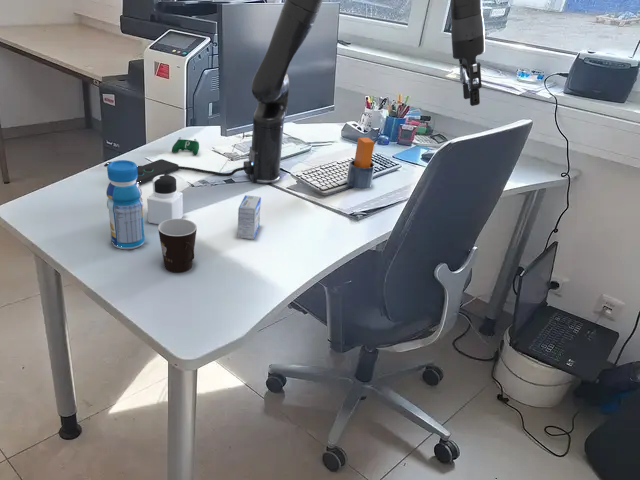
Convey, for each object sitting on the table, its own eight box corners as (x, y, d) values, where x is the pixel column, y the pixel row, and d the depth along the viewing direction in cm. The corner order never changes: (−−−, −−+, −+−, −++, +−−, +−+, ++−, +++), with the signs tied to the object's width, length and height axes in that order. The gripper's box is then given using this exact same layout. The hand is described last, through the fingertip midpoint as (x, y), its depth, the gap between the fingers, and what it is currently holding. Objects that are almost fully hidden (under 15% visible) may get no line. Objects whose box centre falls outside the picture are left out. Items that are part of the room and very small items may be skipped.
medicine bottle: (183, 216, 151) (182, 174, 144) (172, 227, 145) (171, 184, 139) (159, 212, 153) (157, 170, 146) (147, 222, 147) (145, 179, 140)
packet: (357, 186, 172) (364, 142, 165) (351, 181, 176) (358, 137, 168) (366, 186, 173) (374, 142, 165) (360, 180, 177) (367, 137, 169)
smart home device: (115, 174, 169) (160, 158, 183) (115, 180, 170) (161, 163, 184) (134, 182, 165) (179, 164, 179) (134, 187, 166) (179, 169, 180)
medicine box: (254, 240, 141) (256, 208, 137) (237, 237, 142) (238, 206, 137) (259, 226, 148) (261, 196, 143) (243, 224, 148) (244, 194, 144)
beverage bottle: (129, 254, 133) (123, 174, 122) (103, 244, 136) (95, 165, 125) (152, 240, 139) (148, 163, 128) (126, 231, 142) (120, 155, 131)
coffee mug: (160, 256, 132) (158, 218, 127) (196, 256, 133) (196, 218, 128) (158, 282, 123) (156, 242, 117) (197, 282, 124) (197, 242, 118)
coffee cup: (352, 190, 171) (356, 169, 167) (342, 181, 177) (345, 160, 173) (375, 189, 173) (379, 167, 169) (364, 179, 179) (368, 158, 175)
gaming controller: (198, 158, 194) (202, 143, 195) (196, 153, 190) (200, 137, 191) (173, 155, 195) (177, 140, 196) (170, 150, 191) (174, 135, 193)
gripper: (447, 36, 145) (451, 99, 153) (457, 42, 133) (461, 110, 141) (477, 29, 143) (480, 93, 151) (490, 34, 131) (493, 103, 139)
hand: (471, 101), depth 146 cm, fingers open, 8 cm apart
